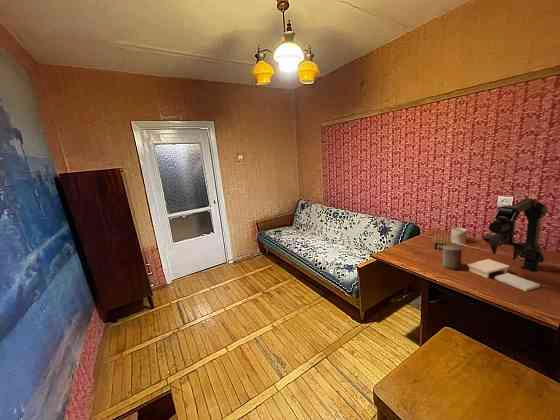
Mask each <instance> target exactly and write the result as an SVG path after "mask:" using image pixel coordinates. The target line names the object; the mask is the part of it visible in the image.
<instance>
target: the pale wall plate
mask: <svg viewBox="0 0 560 420" xmlns="http://www.w3.org/2000/svg"><path fill="white" fill-rule="evenodd" d="M494 280H496V281H499V282H502V283H504V284H507V285H509V286H512V287H515V288H517V289H519V290H521V291H524V292H527V291H531V290H535V289H537V288H540V286H541V284H540V283H537V282H534V281H532V280H528V279H526V278H523V277H520V276H518V275H515V274H512V273H510V272H507V273H502V274H499V275H496V276H494Z"/></svg>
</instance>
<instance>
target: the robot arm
mask: <svg viewBox="0 0 560 420" xmlns="http://www.w3.org/2000/svg"><path fill="white" fill-rule="evenodd" d="M548 211H549V210H548V207H547V205H546V204H544V203H542V202H540V201H538V200H537V199H536V198H535V199H533V198H523V199H522V200H520V201H518V202H515V203H514V204H511V205H502V206H501V207H499V208H498V209H497V211H496V212H495V215H494V217H493V219H494V220H493V222H491V223H490V224H489V225H488V230H489V231H490V232H491V233H493V234H491V233H490V234H486V235H483V237H482V240H483V241H484V242H485V243H487V244H488V245H489V247H490V249H491V251H492V254H493V255H495V254H497V249H498V247H501V246H502V245H508V246H513V248H512V251H513V254H512V260H513V261H516V260H517V258H518V257H519V256H520V258H522V259H523V265H521V266H520V268H521V269H524V270H528V271H530V272H533V273H535V272H538V271H542V268H540V267H539V264H540V263H544V261H545V256H544V254H543V252H542V250H543V249H542V247H541V245H540V244H539V238H540V237H539V235H540V228H541V222H542V221H541V220H543V219H544V218H545V217H546V215H547V213H548ZM522 212H524V216H525V218H526V219H527V228H526V238H525V242H523V241H519V242H516V238H514V236H515V234H517V232H516V231H515V226H516V221H518V218H519V216H520V215H521V213H522ZM494 234H495V235H494Z"/></svg>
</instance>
